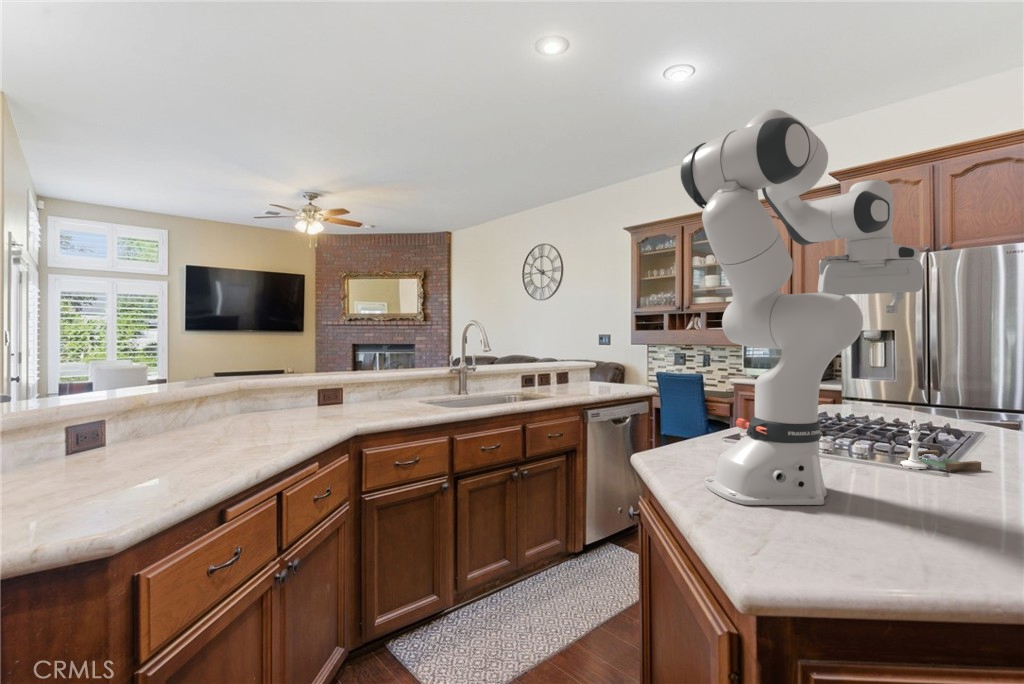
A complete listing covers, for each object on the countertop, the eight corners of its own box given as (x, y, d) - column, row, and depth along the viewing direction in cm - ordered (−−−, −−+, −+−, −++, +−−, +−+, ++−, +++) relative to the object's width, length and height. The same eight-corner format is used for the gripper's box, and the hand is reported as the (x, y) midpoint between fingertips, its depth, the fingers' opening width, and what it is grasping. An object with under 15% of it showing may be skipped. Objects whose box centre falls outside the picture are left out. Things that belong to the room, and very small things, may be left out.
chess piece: (933, 470, 107) (934, 425, 106) (908, 469, 108) (908, 425, 107) (919, 464, 111) (920, 421, 111) (895, 463, 112) (896, 420, 112)
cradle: (950, 472, 105) (950, 464, 105) (906, 459, 115) (906, 452, 115) (981, 470, 106) (981, 462, 106) (935, 457, 116) (935, 450, 116)
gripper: (823, 254, 111) (823, 315, 112) (928, 249, 106) (927, 312, 107) (813, 257, 117) (813, 314, 118) (912, 252, 112) (911, 312, 113)
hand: (868, 313), depth 112 cm, fingers open, 8 cm apart
